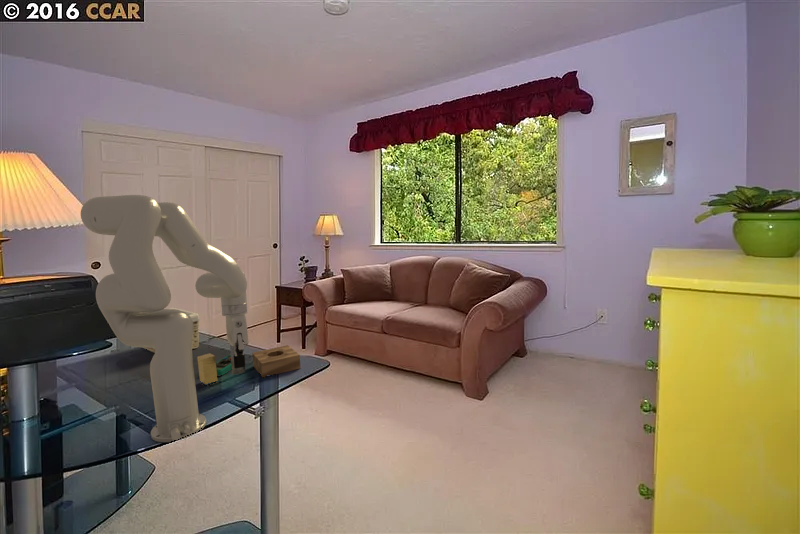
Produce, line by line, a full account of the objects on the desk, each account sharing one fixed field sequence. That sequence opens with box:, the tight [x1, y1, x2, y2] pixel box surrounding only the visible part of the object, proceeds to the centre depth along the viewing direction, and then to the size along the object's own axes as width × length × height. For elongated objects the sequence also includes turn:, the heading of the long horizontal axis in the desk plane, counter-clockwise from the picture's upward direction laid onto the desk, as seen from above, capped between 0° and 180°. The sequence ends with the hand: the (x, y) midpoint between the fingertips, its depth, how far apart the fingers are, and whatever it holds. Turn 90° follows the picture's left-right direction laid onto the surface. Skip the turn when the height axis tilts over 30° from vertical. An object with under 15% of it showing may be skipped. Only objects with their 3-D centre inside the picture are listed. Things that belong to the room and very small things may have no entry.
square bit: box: [196, 353, 218, 384], centre depth 134 cm, size 4×4×9 cm
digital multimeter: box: [216, 354, 232, 376], centre depth 147 cm, size 7×15×3 cm, turn 168°
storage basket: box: [142, 307, 200, 354], centre depth 171 cm, size 24×16×15 cm
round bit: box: [229, 343, 246, 375], centre depth 131 cm, size 4×4×9 cm
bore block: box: [251, 344, 301, 378], centre depth 145 cm, size 13×13×5 cm
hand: (238, 364), depth 132 cm, fingers closed on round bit, 4 cm apart
